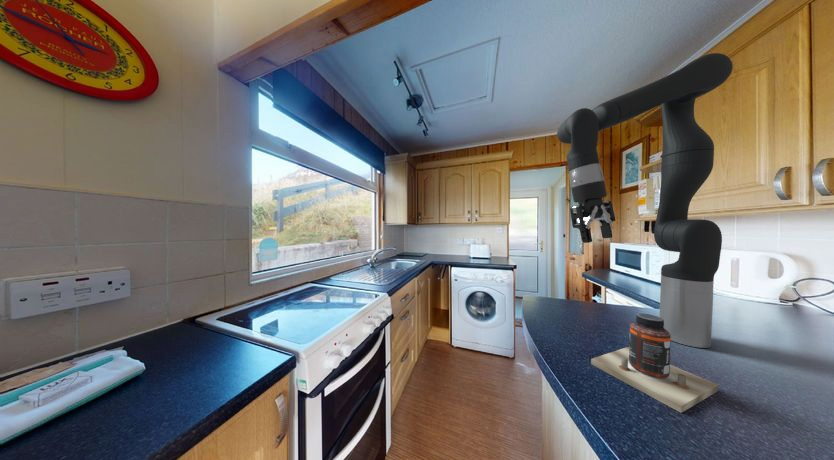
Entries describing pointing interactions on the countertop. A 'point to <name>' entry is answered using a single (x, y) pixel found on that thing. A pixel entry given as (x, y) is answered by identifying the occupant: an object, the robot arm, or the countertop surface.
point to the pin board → (658, 381)
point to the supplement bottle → (650, 346)
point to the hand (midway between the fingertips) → (597, 240)
